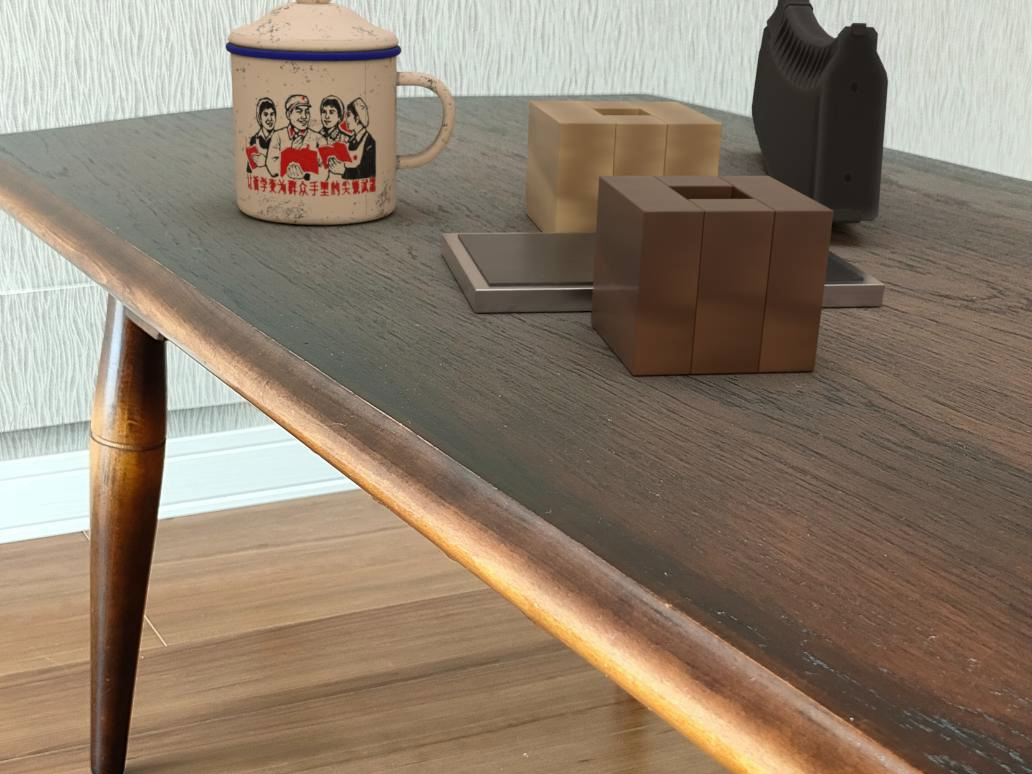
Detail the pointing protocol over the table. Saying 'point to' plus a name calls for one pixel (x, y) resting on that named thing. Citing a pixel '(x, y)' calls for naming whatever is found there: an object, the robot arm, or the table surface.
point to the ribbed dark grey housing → (822, 110)
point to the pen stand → (608, 153)
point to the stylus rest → (709, 274)
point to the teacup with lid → (321, 115)
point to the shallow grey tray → (580, 273)
